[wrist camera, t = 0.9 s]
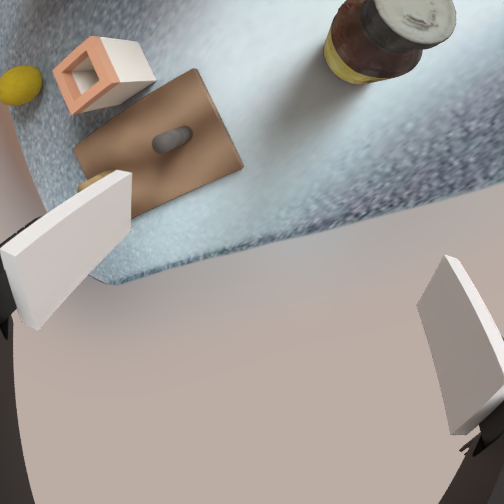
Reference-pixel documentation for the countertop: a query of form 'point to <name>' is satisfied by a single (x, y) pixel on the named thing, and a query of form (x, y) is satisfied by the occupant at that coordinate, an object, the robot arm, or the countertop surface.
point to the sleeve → (102, 74)
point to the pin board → (172, 164)
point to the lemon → (20, 85)
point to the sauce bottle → (385, 37)
